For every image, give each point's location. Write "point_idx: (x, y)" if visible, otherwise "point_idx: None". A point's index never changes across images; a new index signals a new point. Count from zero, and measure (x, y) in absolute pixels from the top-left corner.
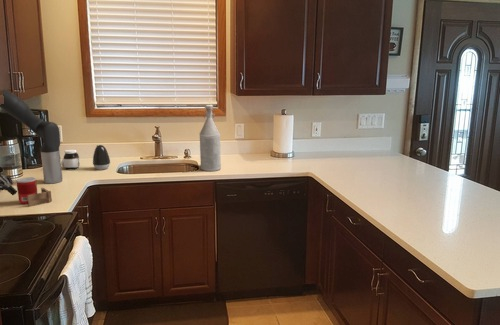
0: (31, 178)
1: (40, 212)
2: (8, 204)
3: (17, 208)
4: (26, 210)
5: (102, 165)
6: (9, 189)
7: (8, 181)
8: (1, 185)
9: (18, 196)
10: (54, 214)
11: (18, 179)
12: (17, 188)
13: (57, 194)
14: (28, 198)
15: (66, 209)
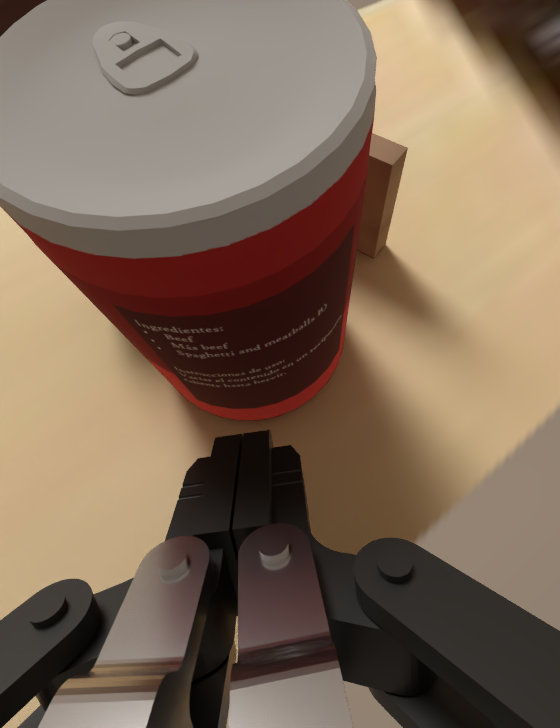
0: (37, 67)
1: (486, 93)
2: (378, 507)
3: (468, 306)
4: (487, 200)
5: None
6: (306, 508)
7: (89, 677)
8: (530, 615)
9: (319, 365)
10: (486, 13)
11: (168, 208)
12: (328, 290)
13: (12, 241)
14: (399, 175)
15: (376, 12)
